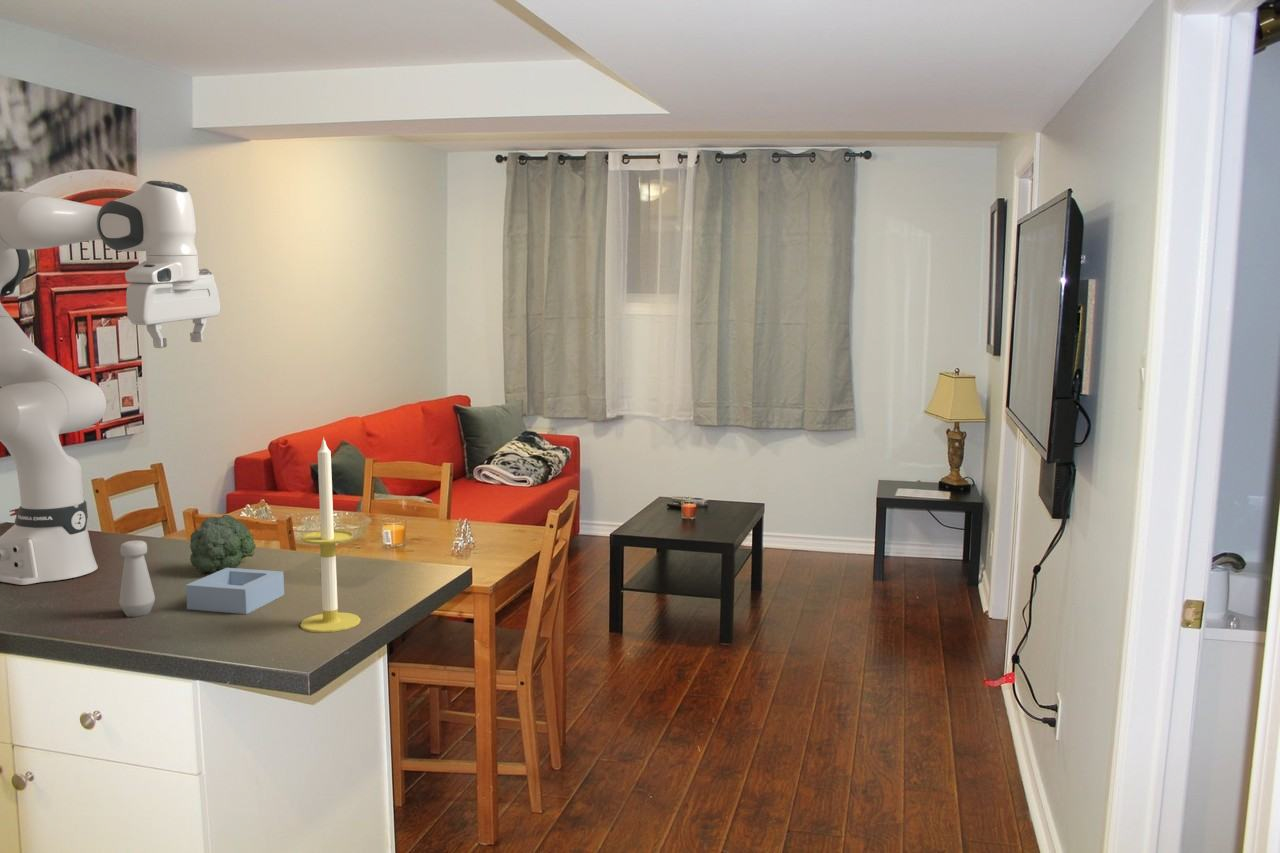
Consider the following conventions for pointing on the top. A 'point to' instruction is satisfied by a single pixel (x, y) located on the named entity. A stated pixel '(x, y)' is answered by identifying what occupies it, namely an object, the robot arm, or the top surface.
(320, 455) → the candle
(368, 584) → the top surface
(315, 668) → the top surface
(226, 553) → the vegetable
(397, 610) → the top surface
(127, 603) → the salt shaker
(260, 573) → the container
